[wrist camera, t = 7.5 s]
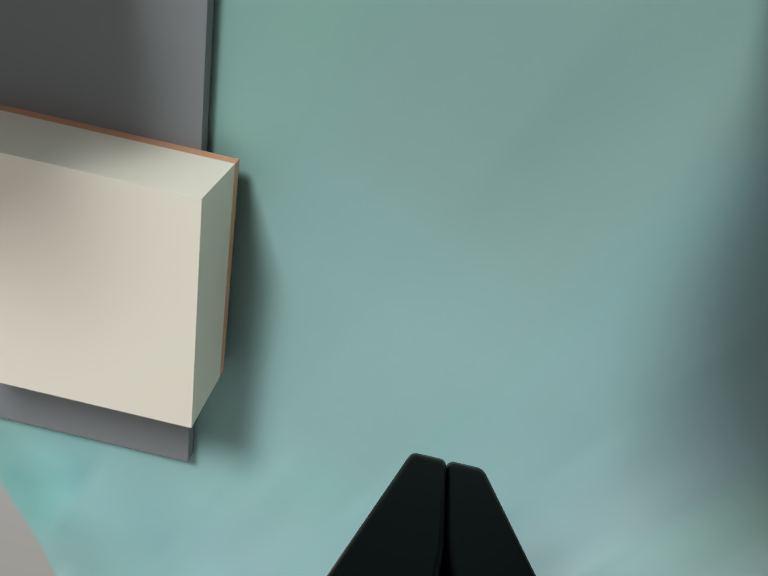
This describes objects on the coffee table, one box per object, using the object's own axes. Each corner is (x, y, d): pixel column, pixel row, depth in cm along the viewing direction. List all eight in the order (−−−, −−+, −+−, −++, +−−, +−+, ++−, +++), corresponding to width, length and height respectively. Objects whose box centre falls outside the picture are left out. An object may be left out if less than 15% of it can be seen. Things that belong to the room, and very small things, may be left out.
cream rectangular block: (201, 198, 17) (-138, 120, 17) (191, 428, 21) (-83, 363, 21) (239, 158, 20) (-56, 91, 20) (223, 370, 24) (-21, 312, 24)
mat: (215, -38, 17) (208, -36, 17) (192, 452, 27) (187, 461, 26) (-170, -123, 18) (-187, -124, 17) (-60, 392, 27) (-69, 400, 27)
